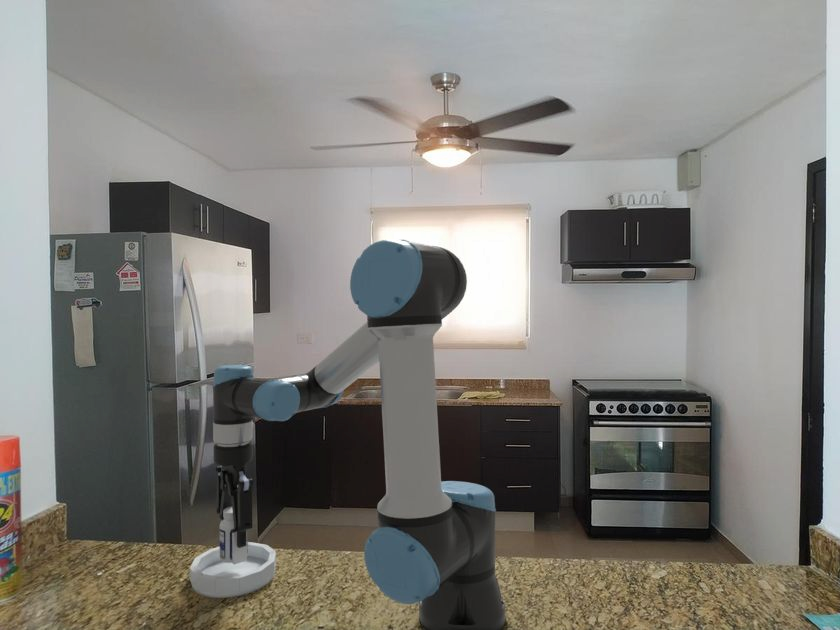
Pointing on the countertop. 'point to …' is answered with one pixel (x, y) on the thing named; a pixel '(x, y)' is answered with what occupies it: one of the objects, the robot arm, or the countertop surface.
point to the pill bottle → (227, 536)
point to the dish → (232, 572)
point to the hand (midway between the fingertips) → (233, 556)
